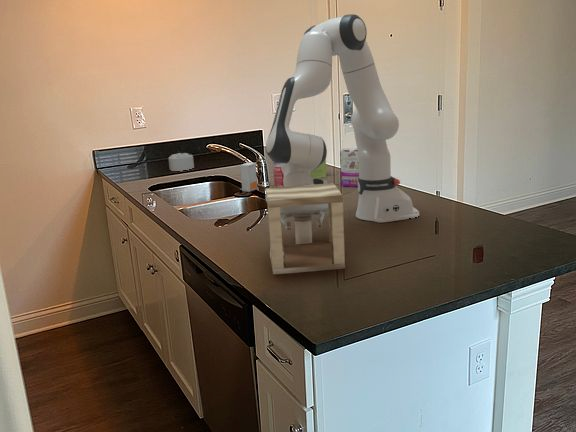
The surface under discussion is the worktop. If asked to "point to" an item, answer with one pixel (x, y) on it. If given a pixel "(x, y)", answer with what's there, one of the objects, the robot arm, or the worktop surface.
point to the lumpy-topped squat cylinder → (181, 162)
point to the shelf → (310, 253)
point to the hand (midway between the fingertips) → (304, 227)
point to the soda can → (278, 176)
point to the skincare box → (248, 177)
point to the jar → (303, 228)
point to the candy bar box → (349, 167)
